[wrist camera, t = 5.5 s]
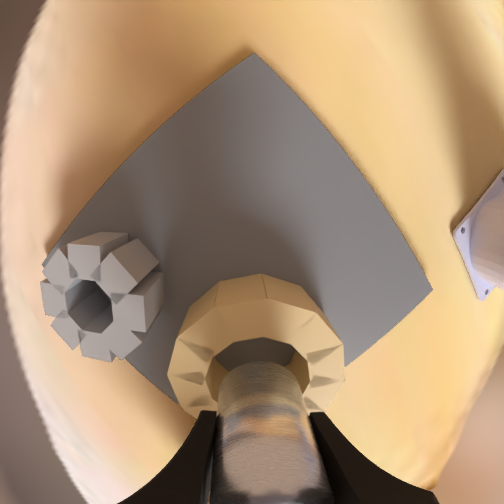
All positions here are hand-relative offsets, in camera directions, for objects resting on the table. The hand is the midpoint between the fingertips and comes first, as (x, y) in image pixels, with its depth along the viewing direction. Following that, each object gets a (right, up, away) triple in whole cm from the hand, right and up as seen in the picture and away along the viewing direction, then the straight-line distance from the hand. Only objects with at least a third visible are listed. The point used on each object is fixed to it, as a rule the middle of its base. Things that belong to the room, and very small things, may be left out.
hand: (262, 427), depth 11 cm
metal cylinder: (0, +1, +2) cm, 2 cm away
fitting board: (-1, +6, +7) cm, 10 cm away
